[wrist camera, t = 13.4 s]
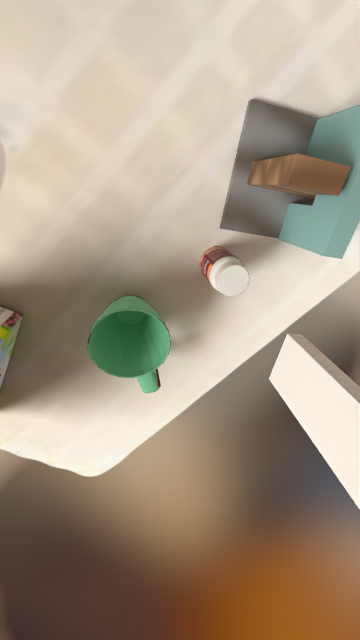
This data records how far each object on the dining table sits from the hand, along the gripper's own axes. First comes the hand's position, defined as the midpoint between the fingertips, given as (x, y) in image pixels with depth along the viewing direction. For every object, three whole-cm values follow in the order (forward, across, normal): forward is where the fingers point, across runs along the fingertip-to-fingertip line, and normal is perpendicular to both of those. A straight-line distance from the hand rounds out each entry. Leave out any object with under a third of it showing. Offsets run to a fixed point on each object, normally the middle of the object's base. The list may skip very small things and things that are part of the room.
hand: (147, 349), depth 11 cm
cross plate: (+26, +21, +10) cm, 35 cm away
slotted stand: (+27, +21, +10) cm, 35 cm away
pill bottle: (+27, +11, -2) cm, 29 cm away
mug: (+27, +1, -13) cm, 30 cm away
